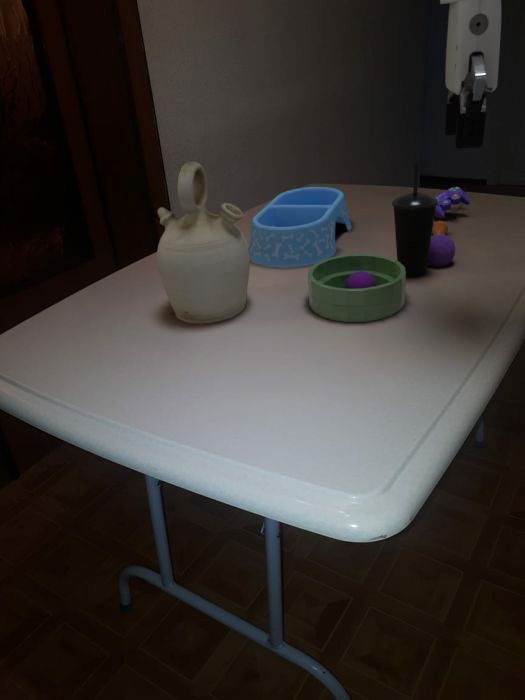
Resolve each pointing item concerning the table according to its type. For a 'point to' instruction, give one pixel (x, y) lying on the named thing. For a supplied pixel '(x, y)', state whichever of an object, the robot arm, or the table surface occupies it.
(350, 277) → the ball
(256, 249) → the dog bowl
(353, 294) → the bowl
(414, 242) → the drinking cup
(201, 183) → the jug
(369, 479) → the table surface
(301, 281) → the table surface
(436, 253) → the maraca
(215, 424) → the table surface
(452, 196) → the game controller
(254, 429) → the table surface
